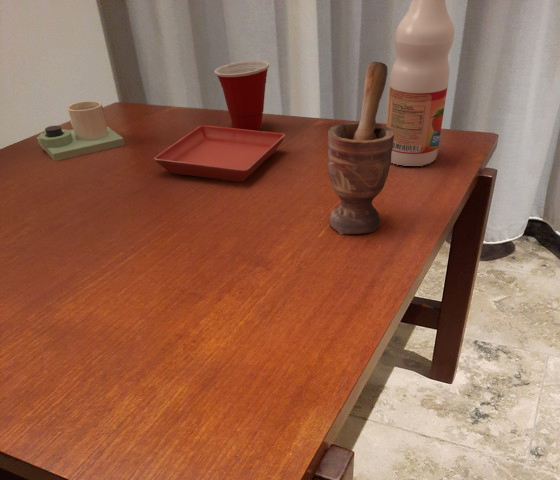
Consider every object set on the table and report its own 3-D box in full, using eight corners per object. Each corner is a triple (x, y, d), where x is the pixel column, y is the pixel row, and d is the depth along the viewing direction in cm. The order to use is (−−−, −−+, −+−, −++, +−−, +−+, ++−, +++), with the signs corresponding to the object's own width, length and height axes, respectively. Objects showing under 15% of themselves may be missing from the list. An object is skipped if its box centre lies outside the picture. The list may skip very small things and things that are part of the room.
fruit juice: (378, 151, 103) (393, -35, 85) (428, 147, 103) (454, -38, 85) (389, 170, 96) (408, -29, 78) (443, 166, 96) (474, -32, 78)
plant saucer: (247, 188, 92) (246, 168, 90) (154, 176, 97) (151, 157, 95) (287, 151, 105) (286, 133, 102) (202, 142, 110) (200, 124, 108)
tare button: (49, 139, 106) (47, 131, 105) (45, 135, 108) (43, 127, 107) (65, 136, 108) (62, 128, 107) (60, 132, 110) (58, 124, 109)
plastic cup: (226, 120, 120) (220, 58, 112) (275, 121, 118) (273, 58, 111) (215, 137, 112) (207, 72, 104) (267, 138, 110) (264, 71, 102)
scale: (52, 162, 105) (47, 145, 103) (36, 144, 112) (31, 129, 110) (125, 145, 110) (121, 129, 108) (104, 129, 118) (101, 115, 116)
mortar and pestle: (325, 202, 87) (327, 59, 74) (380, 201, 86) (393, 58, 73) (326, 237, 78) (330, 82, 65) (388, 236, 78) (404, 80, 65)
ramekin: (81, 142, 108) (73, 112, 105) (71, 134, 112) (63, 105, 109) (112, 135, 111) (106, 106, 107) (102, 127, 115) (95, 99, 111)
